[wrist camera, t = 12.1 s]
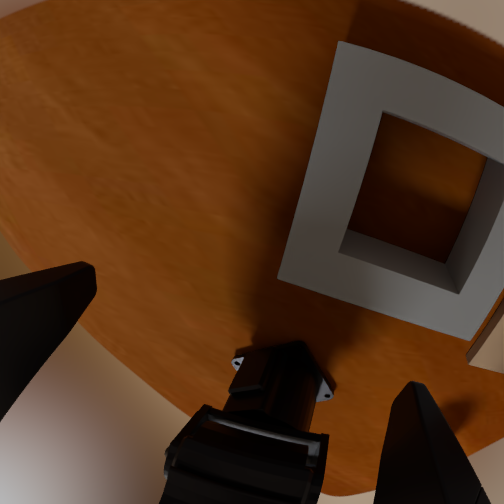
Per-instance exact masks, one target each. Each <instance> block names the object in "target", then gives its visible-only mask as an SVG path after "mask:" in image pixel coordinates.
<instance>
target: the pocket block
mask: <svg viewBox="0 0 504 504" xmlns="http://www.w3.org/2000/svg"><path fill="white" fill-rule="evenodd" d="M382 112H384V113H386V114H389V115H392V116H395V117H398V118H400V119H403V120H406V121H408V122H411V123H413V124H416V125H418V126H421V127H423V128H426V129H428V130H431V131H433V132H435V133H438V134H440V135H442V136H444V137H447V138H449V139H451V140H453V141H455V142H458V143H460V144H462V145H464V146H466V147H468V148H470V149H472V150H474V151H476V152H478V153H480V154H482V155H484V156H486V157H488V158H487V161H486V165H485V168H484V171H483V174H482V176H481V179H480V182H479V185H478V188H477V191H476V193H475V196H474V199H473V201H472V204H471V206H470V209H469V211H468V214H467V216H466V219H465V221H464V223H463V226H462V228H461V230H460V233H459V235H458V237H457V239H456V242H455V244H454V246H453V248H452V250H451V253H450V255H449V257H448V259H447V261H446V263H445V264H444V263H441V262H438V261H436V260H433V259H430V258H428V257H425V256H422V255H420V254H417V253H414V252H412V251H409V250H406V249H403V248H401V247H398V246H395V245H392V244H389V243H387V242H384V241H381V240H378V239H375V238H372V237H370V236H367V235H364V234H361V233H358V232H355V231H352V230H349V229H347V226H348V223H349V220H350V217H351V214H352V211H353V208H354V205H355V202H356V199H357V196H358V193H359V190H360V187H361V184H362V180H363V177H364V174H365V171H366V167H367V164H368V161H369V158H370V154H371V151H372V147H373V144H374V140H375V137H376V133H377V130H378V126H379V122H380V119H381V115H382ZM277 279H279V280H282V281H285V282H288V283H291V284H294V285H297V286H300V287H303V288H306V289H309V290H312V291H315V292H318V293H321V294H324V295H327V296H330V297H333V298H336V299H339V300H342V301H345V302H348V303H351V304H355V305H358V306H361V307H364V308H367V309H370V310H373V311H376V312H379V313H382V314H385V315H389V316H392V317H395V318H398V319H401V320H404V321H407V322H410V323H414V324H417V325H420V326H423V327H426V328H429V329H433V330H436V331H439V332H442V333H445V334H449V335H452V336H455V337H458V338H462V339H465V340H468V341H470V340H471V339H472V337H473V336H474V334H475V333H476V331H477V330H478V328H479V327H480V325H481V324H482V322H483V321H484V319H485V318H486V316H487V315H488V313H489V311H490V310H491V308H492V306H493V305H494V303H495V301H496V300H497V298H498V296H499V295H500V293H501V291H502V289H503V288H504V107H502V106H501V105H499V104H497V103H495V102H494V101H492V100H490V99H488V98H486V97H485V96H483V95H481V94H479V93H477V92H475V91H473V90H471V89H469V88H467V87H465V86H463V85H461V84H459V83H457V82H455V81H452V80H450V79H448V78H446V77H444V76H441V75H439V74H437V73H434V72H432V71H429V70H427V69H425V68H422V67H420V66H417V65H414V64H412V63H409V62H406V61H404V60H401V59H398V58H395V57H392V56H389V55H386V54H383V53H380V52H377V51H374V50H371V49H367V48H364V47H361V46H357V45H353V44H350V43H346V42H342V41H338V45H337V50H336V54H335V58H334V63H333V67H332V71H331V75H330V80H329V84H328V88H327V92H326V96H325V100H324V104H323V108H322V113H321V117H320V121H319V125H318V129H317V133H316V136H315V140H314V144H313V148H312V152H311V156H310V160H309V164H308V167H307V171H306V175H305V179H304V183H303V186H302V190H301V194H300V197H299V201H298V205H297V209H296V212H295V216H294V219H293V223H292V227H291V230H290V234H289V237H288V241H287V245H286V248H285V252H284V255H283V259H282V262H281V266H280V269H279V273H278V276H277Z"/></svg>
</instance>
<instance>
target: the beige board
mask: <svg viewBox="0 0 504 504" xmlns="http://www.w3.org/2000/svg"><path fill="white" fill-rule="evenodd" d="M466 358H467V361H468V364H469V365H472V366H476V367H480V368H484V369H488V370H492V371H496V372H500V373H504V299H503V300H502V302H501V304H500V305H499V307H498V309H497V310H496V312H495V313H494V315H493V317H492V318H491V320H490V321H489V323H488V324H487V326H486V327H485V329H484V330H483V332H482V333H481V335H480V336H479V338H478V339H477V341H476V342H475V343H474V345H473V346H472V348H471V349H470V350H469V352H468V353H467V354H466Z"/></svg>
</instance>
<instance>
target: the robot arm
mask: <svg viewBox="0 0 504 504" xmlns="http://www.w3.org/2000/svg"><path fill="white" fill-rule="evenodd" d="M96 292H97V284H96V274H95V268H94V266H92V265H91V264H88V263H86V262H84V261H80V262H76V263H71V264H67V265H62V266H58V267H54V268H49V269H45V270H41V271H36V272H32V273H28V274H24V275H19V276H15V277H11V278H7V279H3V280H0V422H1V420H2V419H3V417H4V416H5V415H6V413H7V412H8V410H9V409H10V408H11V406H12V405H13V404H14V402H15V401H16V399H17V398H18V397H19V395H20V394H21V393H22V391H23V390H24V389H25V387H26V386H27V385H28V384H29V382H30V381H31V380H32V378H33V377H34V376H35V375H36V373H37V372H38V371H39V369H40V368H41V367H42V366H43V364H44V363H45V362H46V361H47V359H48V358H49V357H50V356H51V354H52V353H53V352H54V351H55V350H56V348H57V347H58V346H59V345H60V343H61V342H62V341H63V340H64V339H65V337H66V336H67V335H68V333H69V332H70V331H71V329H72V328H73V327H74V325H75V324H76V322H77V321H78V319H79V318H80V317H81V315H82V314H83V312H84V311H85V309H86V308H87V307H88V305H89V304H90V302H91V301H92V300H93V298H94V297H95V295H96ZM297 347H301V348H297ZM237 361H238V362H237ZM232 365H233V366H234V367H235V369H236V370H237V373H236V375H235V377H234V379H233V381H232V383H231V385H230V387H229V390H228V392H229V394H230V396H229V398H228V400H227V402H226V404H225V406H224V408H223V410H218V409H215V408H212V406H210V405H206V404H204V405H203V406H202V407H201V408H200V410H199V411H197V412H196V413H195V414H194V416H193V417H192V418H191V419H190V421H189V422H188V423H187V424H186V425H185V426H184V428H183V429H182V430H181V431H180V433H179V434H178V435H177V436H176V437H175V438H174V440H173V441H172V442H171V443H170V446H169V447H168V448H167V449H166V451H165V456H166V461H165V465H164V476H165V478H166V479H167V482H166V485H165V488H164V492H163V495H162V497H161V500H160V502H159V504H317V501H318V498H319V495H320V492H321V488H322V484H323V480H324V474H325V466H326V459H327V451H328V443H329V434H323V433H321V434H316V433H311V432H309V429H310V425H311V421H312V416H313V412H314V408H315V403H316V402H319V401H324V400H329V399H332V398H333V396H334V391H333V389H332V387H331V386H330V384H329V382H328V381H327V379H326V377H325V376H324V374H323V372H322V371H321V369H320V367H319V366H318V364H317V362H316V361H315V359H314V357H313V356H312V354H311V352H310V351H309V349H308V347H307V345H306V344H305V343H304V342H302V341H294V342H291V343H287V344H283V345H279V346H275V347H269V348H265V349H261V350H257V351H252V352H248V353H246V354H242V355H237V356H234V358H233V359H232ZM373 504H491V503H490V500H489V499H488V497H487V495H486V493H485V491H484V489H483V487H481V483H480V481H479V479H478V477H477V475H476V473H475V471H474V469H473V467H472V466H471V464H470V462H469V460H468V458H467V456H466V454H465V453H464V451H463V449H462V447H461V445H460V443H459V442H458V440H457V438H456V436H455V435H454V433H453V431H452V429H451V428H450V426H449V424H448V422H447V421H446V419H445V417H444V416H443V414H442V412H441V411H440V409H439V407H438V405H437V404H436V402H435V400H434V399H433V397H432V396H431V394H430V392H429V391H428V389H427V387H426V386H425V385H424V384H422V383H419V382H415V381H410V382H409V383H408V384H407V385H406V386H405V387H404V388H403V390H402V391H401V392H400V393H399V395H398V396H397V397H396V398H395V400H394V401H393V404H392V407H391V412H390V417H389V422H388V427H387V431H386V436H385V440H384V445H383V449H382V454H381V459H380V466H379V473H378V479H377V486H376V492H375V497H374V503H373Z"/></svg>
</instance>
